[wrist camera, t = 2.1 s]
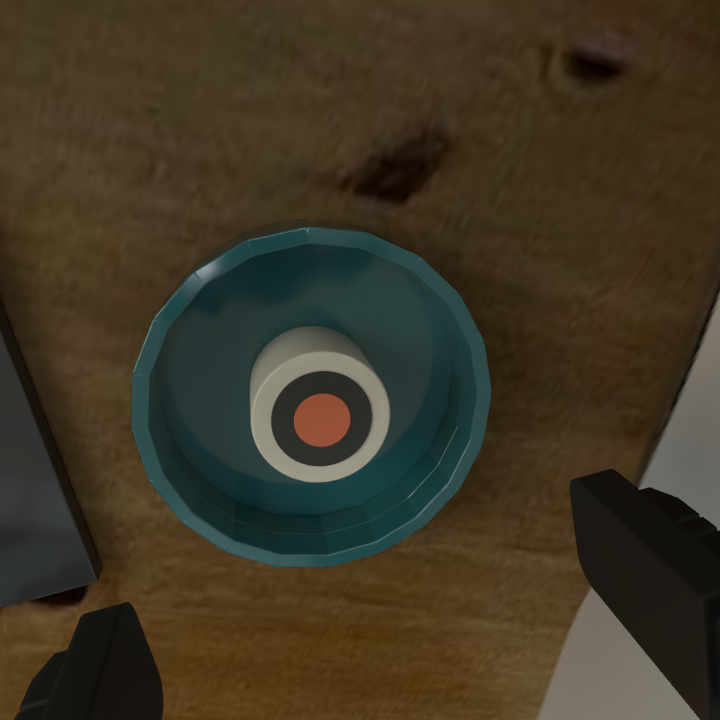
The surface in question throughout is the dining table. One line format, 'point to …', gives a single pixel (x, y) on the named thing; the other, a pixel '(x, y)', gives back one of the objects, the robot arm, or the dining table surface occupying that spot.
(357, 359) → the sushi roll
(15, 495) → the glossy dark tile
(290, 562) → the bowl
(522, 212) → the dining table surface
